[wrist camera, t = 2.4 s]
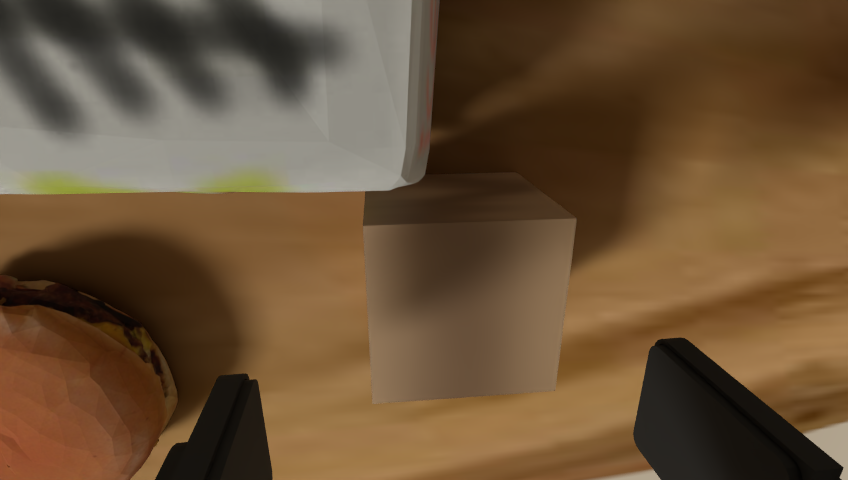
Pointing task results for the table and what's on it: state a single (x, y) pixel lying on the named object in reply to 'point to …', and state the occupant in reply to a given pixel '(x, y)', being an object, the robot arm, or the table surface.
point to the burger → (76, 386)
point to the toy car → (215, 95)
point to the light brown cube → (465, 287)
